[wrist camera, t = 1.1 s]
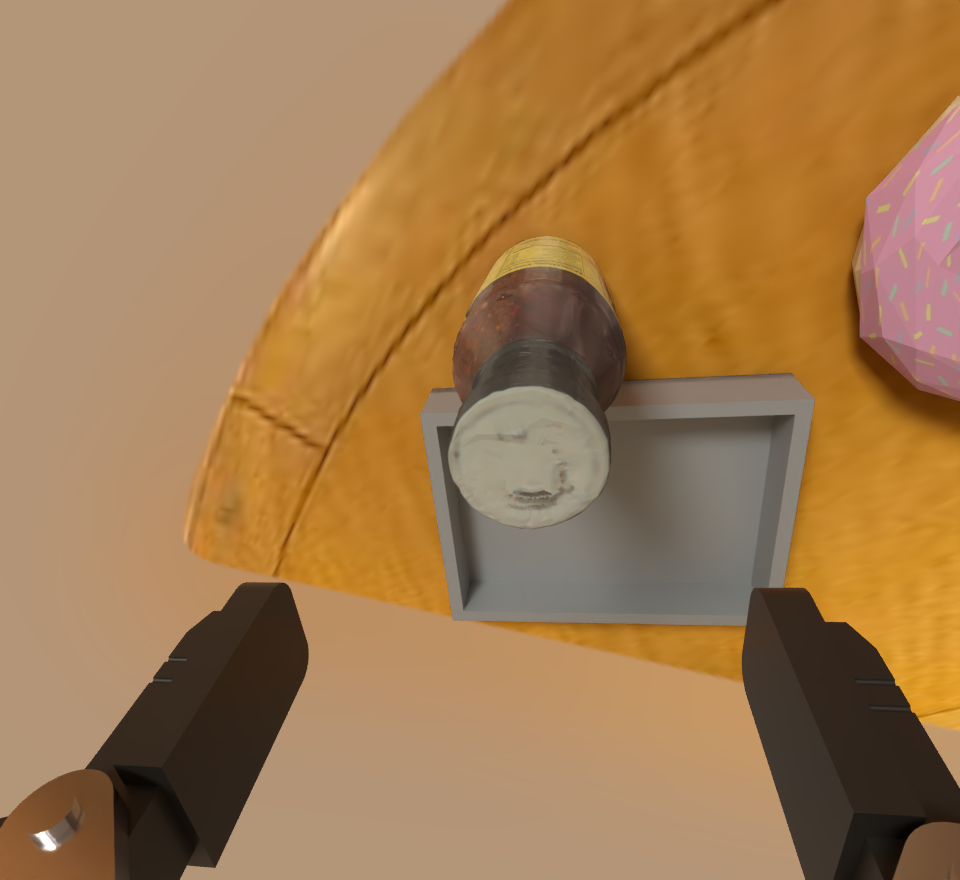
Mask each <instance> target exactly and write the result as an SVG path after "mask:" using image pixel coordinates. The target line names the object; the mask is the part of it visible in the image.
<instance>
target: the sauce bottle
mask: <svg viewBox="0 0 960 880" xmlns="http://www.w3.org/2000/svg"><path fill="white" fill-rule="evenodd" d="M625 369H626V346H625V341H624V336H623V332H622V329H621V326H620V323H619V320H618V317H617V314H616V312H615V308H614V305H613V303H612V300H611V298H610V295H609V292H608V290H607V287H606V284H605V281H604V278H603V276H602V274H601V271H600V269H599V267H598V266H597V264H596V262H595V261H594V260H593V258H592V257H591V256H590V255H589V254H588V253H587V252H586V251H585V250H583V249H582V248H580V247H579V246H577V245H576V244H574V243H572V242H570V241H568V240H565V239H562V238H557V237H551V236H543V237H536V238H532V239H528V240H525V241H522V242H519V243H517V244H516V245H515V246H513V247H512V248H510V249H509V250H508V251H506V252H505V253H504V254H503V255H502V256H501V257H500V258H499V259H498V260H497V262H496V263H495V264H494V266H493V268H492V269H491V271H490V272H489V274H488V276H487V278H486V279H485V281H484V283H483V285H482V286H481V288H480V290H479V291H478V293H477V295H476V297H475V298H474V300H473V302H472V304H471V305H470V307H469V309H468V311H467V313H466V319H465V321H464V322H463V324H462V326H461V329H460V331H459V333H458V335H457V340H456V342H455V345H454V356H453V379H454V383H455V387H456V391H457V393H458V395H459V397H460V400H461V402H462V405H461V407H460V408H459V411H458V415H457V417H456V420H455V423H454V426H453V429H452V433H451V436H450V439H449V446H448V465H449V469H450V474H451V476H452V479H453V481H454V483H455V484H456V486H457V487H458V490H459V492H460V493H461V494H462V496H463V497H464V498H465V499H466V500H467V502H468V503H469V504H470V506H471V507H472V508H474V509H475V510H476V511H478V512H479V513H481V514H482V515H484V516H485V517H487V518H489V519H491V520H493V521H495V522H497V523H499V524H501V525H506V526H510V527H515V528H520V529H525V528H526V529H539V528H544V527H548V526H554V525H557V524H559V523H562V522H565V521H567V520H570V519H571V518H573V517H575V516H577V515H579V514H580V513H582V512H583V511H585V510H586V509H587V508H588V507H589V506H590V505H591V504H592V503H593V502H594V501H595V500H596V499H597V498H598V497H599V496H600V495H601V493H602V491H603V489H604V487H605V485H606V483H607V480H608V477H609V471H610V465H611V437H610V431H609V426H608V422H607V418H606V415H605V413H604V412H605V411H606V410H607V409H608V408H609V406H610V405H611V404H612V403H613V401H614V400H615V398H616V396H617V394H618V392H619V390H620V388H621V385H622V383H623V379H624V375H625Z"/></svg>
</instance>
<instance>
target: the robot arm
mask: <svg viewBox="0 0 960 880" xmlns="http://www.w3.org/2000/svg"><path fill="white" fill-rule="evenodd" d="M308 654H309V653H308V644H307V640H306V637H305V634H304V630H303V627H302V624H301V621H300V618H299V615H298V611H297V608H296V605H295V602H294V598H293V595H292V592H291V589H290V588H289V586H288V585H287V584H285V583H257V582H253V583H252V582H250V583H249V582H246V583H243V584H241V585H240V586H239V587H238V588H237V589H236V590H235V592H234V593H233V595H232V596H231V597H230V599H229V600H228V602H227V603H226V604H225V606H224V607H223V609H222V610H221V611H213V612H211V613H210V614H209V615H208V616H206V617H205V618H204V619H203V620H201V621H200V622H199V623H198V624H197V625H195V626H194V627H193V628H191V629H190V630H189V631H188V632H187V633H186V634H185V635H184V637H183V638H182V640H181V641H180V642H179V643H178V645H177V646H176V648H175V649H174V650H173V652H172V653H171V654H170V656H169V660H168V662H164V664H163V665H162V667H161V668H160V669H159V670H158V672H157V673H156V675H155V676H154V677H153V678H154V679H153V682H152V683H149V684H148V685H147V687H146V688H145V689H144V691H143V692H142V693H141V695H140V696H139V697H138V699H137V700H136V701H135V703H134V704H133V705H132V707H131V708H130V710H129V711H128V712H127V714H126V715H125V716H124V718H123V719H122V720H121V722H120V723H119V724H118V726H117V727H116V728H115V730H114V731H113V732H112V734H111V735H110V736H109V738H108V739H107V740H106V742H105V743H104V744H103V746H102V747H101V749H100V750H99V751H98V753H97V754H96V755H95V757H94V758H93V759H92V761H91V762H90V763H89V764H88V766H87V767H86V768H85V769H83V770H77V771H73V772H70V773H67V774H64V775H62V776H59V777H57V778H55V779H53V780H51V781H49V782H48V783H46V784H45V785H43V786H41V787H40V788H38V789H37V790H36V791H34V792H33V793H32V794H30V795H29V796H28V797H27V798H26V799H25V800H23V801H22V802H21V803H20V804H19V805H18V806H17V807H16V808H15V810H14V811H13V812H12V813H11V814H10V815H9V816H8V817H4V818H0V880H180V878H181V876H182V874H183V872H184V870H185V868H186V866H187V865H190V866H200V867H212V868H215V867H216V865H217V863H218V861H219V859H220V856H221V854H222V852H223V850H224V848H225V846H226V843H227V842H228V839H229V837H230V835H231V833H232V831H233V829H234V827H235V824H236V822H237V820H238V818H239V816H240V814H241V812H242V810H243V807H244V805H245V803H246V801H247V799H248V797H249V795H250V793H251V790H252V788H253V786H254V784H255V782H256V780H257V778H258V776H259V773H260V771H261V769H262V767H263V765H264V763H265V760H266V758H267V756H268V754H269V752H270V750H271V748H272V746H273V743H274V741H275V739H276V737H277V735H278V733H279V731H280V729H281V727H282V724H283V722H284V720H285V718H286V716H287V714H288V711H289V710H290V707H291V705H292V703H293V701H294V699H295V696H296V695H297V692H298V690H299V688H300V686H301V684H302V682H303V679H304V677H305V673H306V670H307V665H308ZM742 673H743V681H744V687H745V691H746V695H747V698H748V701H749V705H750V708H751V711H752V714H753V717H754V720H755V724H756V727H757V729H758V733H759V736H760V739H761V742H762V745H763V749H764V752H765V755H766V758H767V761H768V764H769V767H770V770H771V773H772V776H773V780H774V783H775V786H776V789H777V792H778V795H779V798H780V802H781V805H782V808H783V811H784V814H785V817H786V820H787V824H788V827H789V830H790V833H791V836H792V839H793V842H794V845H795V849H796V852H797V855H798V858H799V861H800V864H801V867H802V870H803V874H804V876H805V880H960V788H959V786H958V785H957V783H956V781H955V780H954V778H953V776H952V775H951V773H950V771H949V770H948V768H947V766H946V765H945V763H944V761H943V760H942V758H941V756H940V755H939V753H938V751H937V750H936V748H935V746H934V744H933V743H932V741H931V739H930V738H929V736H928V734H927V733H926V731H925V729H924V728H923V726H922V724H921V723H920V721H919V719H918V718H917V716H916V714H915V713H912V712H911V709H910V704H909V703H908V701H907V699H906V698H905V696H904V694H903V692H902V691H901V689H900V687H899V686H896V685H895V679H894V677H893V676H892V674H891V672H890V671H889V669H888V667H887V666H886V664H885V662H884V661H883V659H882V657H881V656H880V654H879V652H878V651H877V649H876V648H875V647H874V646H873V645H872V644H870V643H869V642H868V641H867V640H866V639H865V638H864V637H862V636H861V635H860V634H859V633H858V632H857V631H855V630H854V629H853V628H852V627H851V626H850V625H849V624H847V623H846V622H825V621H824V619H823V617H822V616H821V614H820V612H819V610H818V608H817V606H816V604H815V602H814V600H813V598H812V597H811V595H810V593H809V592H808V591H807V590H806V589H805V588H754V589H753V590H752V592H751V596H750V602H749V609H748V616H747V623H746V631H745V638H744V645H743V652H742Z"/></svg>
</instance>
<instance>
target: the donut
mask: <svg viewBox="0 0 960 880" xmlns="http://www.w3.org/2000/svg"><path fill="white" fill-rule="evenodd" d="M852 269H853V275H854V281H855V288H856V294H857V300H858V306H859V312H860V338H862V339H863V340H864V341H865V342H866V343H867V344H868V345H869V346H870V347H871V348H873V349H874V350H875V351H876V352H877V353H878V354H879V355H880V356H881V357H883V358H884V359H885V360H886V361H887V362H888V363H889V364H890V365H891V366H893V367H894V368H895V369H896V370H897V371H898V372H899V373H900V374H901V375H902V376H904V377H905V378H906V379H907V380H908V381H909V382H910V383H911V384H912V385H914V386H915V387H916V388H917V389H918V390H921V391H925V392H928V393H932V394H935V395H939V396H943V397H946V398H950V399H953V400H957V401H960V95H959V96H957V97H956V99H955V100H954V101H953V102H952V103H951V104H950V105H949V107H948V108H947V109H946V110H945V111H944V112H943V113H942V114H941V116H940V117H939V118H938V119H937V120H936V121H935V122H934V123H933V125H932V126H931V127H930V128H929V129H928V130H927V131H926V132H925V134H924V135H923V136H922V137H921V138H920V139H919V140H918V142H917V143H916V144H915V145H914V146H913V147H912V148H911V149H910V151H909V152H908V153H907V154H906V155H905V156H904V157H903V158H902V160H901V161H900V162H899V163H898V164H897V165H896V166H895V168H894V169H893V170H892V171H891V172H890V173H889V174H888V175H887V177H886V178H885V179H884V180H883V181H882V182H881V183H880V184H879V185H878V186H877V187H876V188H875V189H874V190H873V191H872V192H871V193H870V194H869V195H868V196H867V197H866V207H865V221H864V225H863V228H862V232H861V235H860V238H859V241H858V244H857V247H856V250H855V254H854V257H853V260H852Z"/></svg>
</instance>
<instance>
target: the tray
mask: <svg viewBox="0 0 960 880" xmlns="http://www.w3.org/2000/svg"><path fill="white" fill-rule="evenodd" d="M814 402H815V399H814V398H813V396H812V395H811V394H810V393H809V392H808V391H807V390H806V389H805V388H804V387H803V385H802V384H801V383H800V382H799V381H798V380H797V379H796V378H795V377H794V375H793V374H792V373H786V374H763V375H740V376H718V377H695V378H672V379H649V380H626V381H623V383H622V385H621V388H620V390H619V392H618V394H617V396H616V398H615V400H614V401H613V403H612V404H611V405H610V406H609V408H608V409H607V410H606V411H605V412H604V413H605V415H606V418H607V422H608V426H609V431H610V437H611V465H610V471H609V477H608V480H607V483H606V485H605V487H604V489H603V491H602V493H601V495H600V496H599V497H598V498H597V499H596V500H595V501H594V502H593V503H592V504H591V505H590V506H589V507H588V508H587V509H586V510H585V511H583V512H582V513H580V514H579V515H577V516H575V517H573V518H571V519H570V520H567V521H565V522H562V523H559V524H557V525H554V526H548V527H544V528H539V529H526V528H525V529H520V528H515V527H510V526H506V525H501V524H499V523H497V522H495V521H493V520H491V519H489V518H487V517H485V516H484V515H482V514H481V513H479V512H478V511H476V510H475V509H474V508H472V507H471V506H470V504H469V503H468V502H467V500H466V499H465V498H464V497H463V496H462V494H461V493H460V492H459V490H458V487H457V486H456V484H455V483H454V481H453V479H452V476H451V474H450V469H449V465H448V446H449V439H450V436H451V433H452V429H453V426H454V423H455V420H456V417H457V415H458V411H459V408H460V407H461V405H462V402H461V400H460V397H459V395H458V393H457V391H456V388H444V389H433V390H432V391H431V393H430V395H429V397H428V399H427V401H426V403H425V405H424V407H423V409H422V411H421V413H420V416H421V422H422V429H423V435H424V441H425V447H426V454H427V460H428V466H429V473H430V479H431V485H432V492H433V498H434V504H435V510H436V517H437V523H438V529H439V536H440V542H441V548H442V555H443V561H444V567H445V574H446V580H447V586H448V592H449V599H450V605H451V611H452V618H453V620H459V621H512V622H565V623H618V624H671V625H724V626H746V623H747V616H748V609H749V602H750V596H751V592H752V590H753V589H754V588H783V586H784V580H785V574H786V568H787V562H788V556H789V550H790V544H791V538H792V533H793V527H794V521H795V515H796V509H797V503H798V497H799V491H800V485H801V479H802V473H803V467H804V461H805V455H806V449H807V443H808V438H809V432H810V426H811V420H812V414H813V408H814Z"/></svg>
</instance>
